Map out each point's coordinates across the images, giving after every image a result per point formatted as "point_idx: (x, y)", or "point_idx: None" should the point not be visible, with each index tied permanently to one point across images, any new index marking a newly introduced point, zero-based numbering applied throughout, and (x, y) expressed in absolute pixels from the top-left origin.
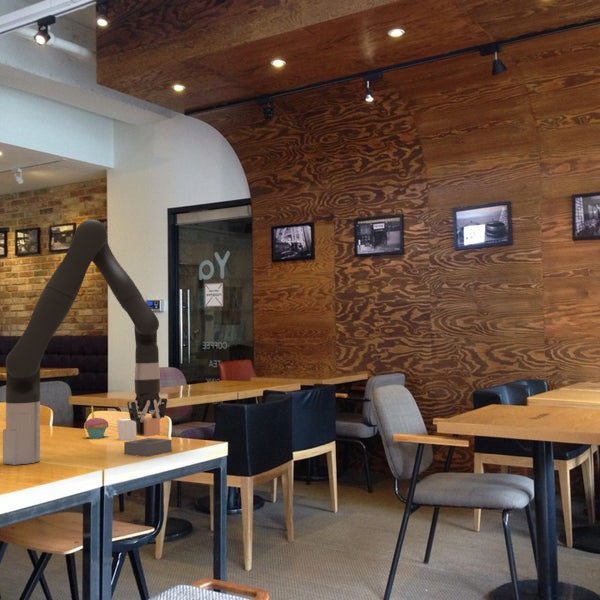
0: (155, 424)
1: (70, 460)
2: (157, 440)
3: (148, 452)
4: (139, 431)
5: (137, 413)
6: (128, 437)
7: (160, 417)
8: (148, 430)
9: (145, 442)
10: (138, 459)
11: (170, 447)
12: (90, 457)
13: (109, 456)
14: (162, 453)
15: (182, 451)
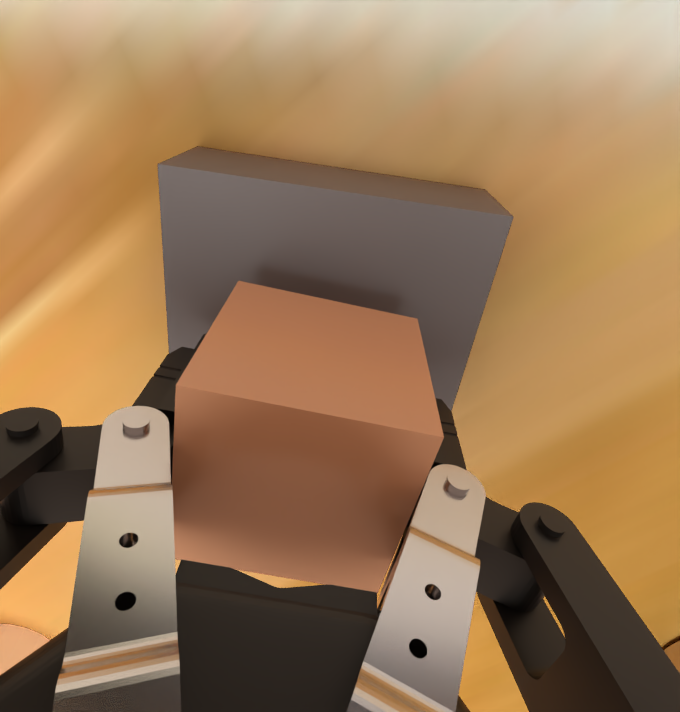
0: (280, 352)
1: (673, 542)
2: (261, 280)
3: (482, 195)
4: (449, 413)
5: (570, 605)
6: (25, 645)
7: (77, 437)
8: (398, 344)
9: (408, 310)
10: (629, 174)
11: (200, 155)
12: (566, 512)
13: (518, 446)
14: (310, 164)
15: (135, 43)
